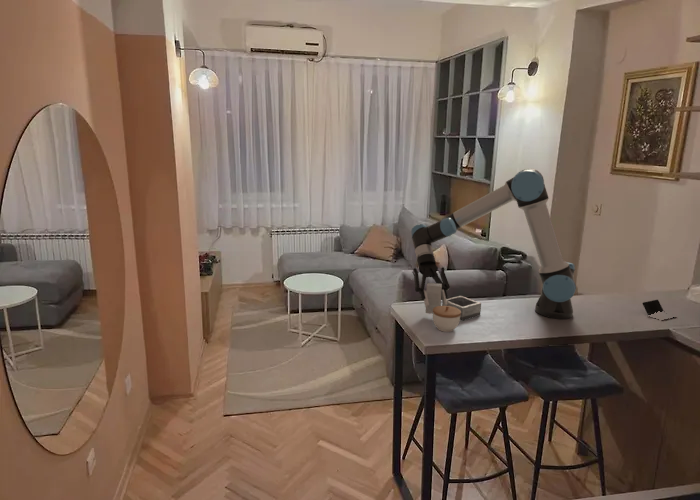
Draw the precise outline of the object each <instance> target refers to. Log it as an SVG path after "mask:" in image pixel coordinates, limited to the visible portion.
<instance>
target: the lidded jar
mask: <svg viewBox="0 0 700 500" xmlns="http://www.w3.org/2000/svg"><path fill="white" fill-rule="evenodd" d="M460 315H461V311H460V310H459V309H457V308H455V307H451V306H442V305H441V306H437V307H434V308H433V314H432V319H433V323H434V326H435V327H436V328H437V329H438V330H439V331H440V332H444V333H450V332H454V330H455V329H457V327H458V326H459V323H460V321H461V320H460Z"/></svg>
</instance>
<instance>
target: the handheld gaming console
mask: <svg viewBox="0 0 700 500" xmlns="http://www.w3.org/2000/svg"><path fill="white" fill-rule="evenodd" d="M642 305H643V308H644V310H645V311H646V314H647V316H648V315H651V314H654V313H655V312H656V313H657V312H658V311H660V312H662V311H664V312H665V310H664V308H663V307H662V305H661V303H660V301H659V299H653V300H649V301H643V302H642Z"/></svg>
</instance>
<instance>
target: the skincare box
mask: <svg viewBox="0 0 700 500" xmlns="http://www.w3.org/2000/svg"><path fill="white" fill-rule="evenodd" d="M426 292H427V297H428V302H429V306H428V307H427V308H426V307H425V314H432V315H433V308H434V307H437V306H442V298H441V292H442V284H437V283H436V282H427V284H426Z"/></svg>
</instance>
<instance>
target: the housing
mask: <svg viewBox="0 0 700 500" xmlns="http://www.w3.org/2000/svg"><path fill="white" fill-rule="evenodd" d="M446 301H447V305H446V306H451V307H455V308H457V309H459V310H460V311H461V315H460V321H462V320H463V321H465V319H466V320H468V319H469V318H470V319H473V318H476V317H479V316H481V312H482V311H481V310H482V303H481V302H480V301H476V300H473V299H472V298H469V297H466V296H463V295H458V296H453V297H449V298H446ZM441 306H443V302H442V301H441ZM472 317H473V318H472Z"/></svg>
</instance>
